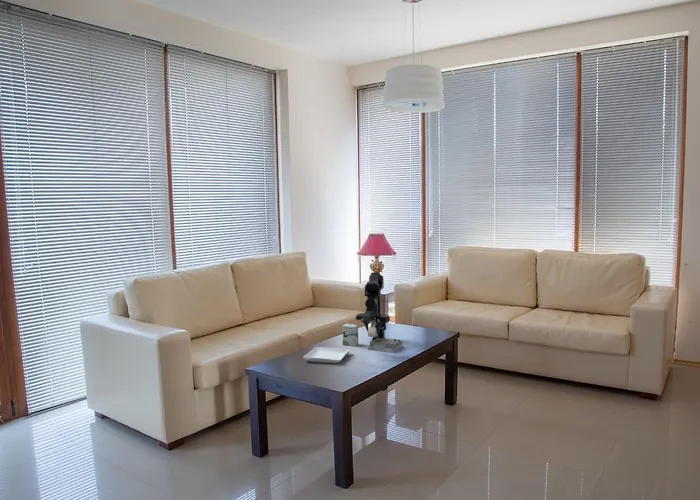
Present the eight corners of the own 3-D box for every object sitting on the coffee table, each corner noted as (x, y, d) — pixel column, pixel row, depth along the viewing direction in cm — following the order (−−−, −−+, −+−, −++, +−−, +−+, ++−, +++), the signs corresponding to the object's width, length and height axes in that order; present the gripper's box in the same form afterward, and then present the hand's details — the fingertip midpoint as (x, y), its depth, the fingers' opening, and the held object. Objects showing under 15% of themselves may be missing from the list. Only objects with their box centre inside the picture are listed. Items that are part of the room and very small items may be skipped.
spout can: (366, 336, 300) (366, 321, 299) (371, 334, 304) (370, 319, 304) (375, 337, 297) (374, 322, 296) (379, 335, 302) (379, 320, 301)
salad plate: (351, 354, 303) (351, 348, 303) (340, 365, 283) (340, 359, 282) (315, 352, 309) (315, 346, 308) (302, 363, 288) (302, 357, 288)
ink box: (342, 345, 321) (341, 325, 320) (345, 342, 326) (344, 323, 324) (355, 346, 318) (355, 326, 317) (358, 344, 322) (358, 324, 321)
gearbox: (367, 349, 310) (367, 341, 310) (378, 343, 323) (378, 335, 322) (392, 352, 303) (392, 344, 302) (402, 346, 315) (402, 338, 314)
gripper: (350, 306, 297) (351, 334, 298) (381, 309, 288) (381, 338, 289) (360, 303, 306) (360, 330, 308) (390, 305, 297) (390, 333, 299)
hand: (373, 333), depth 301 cm, fingers closed on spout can, 5 cm apart
